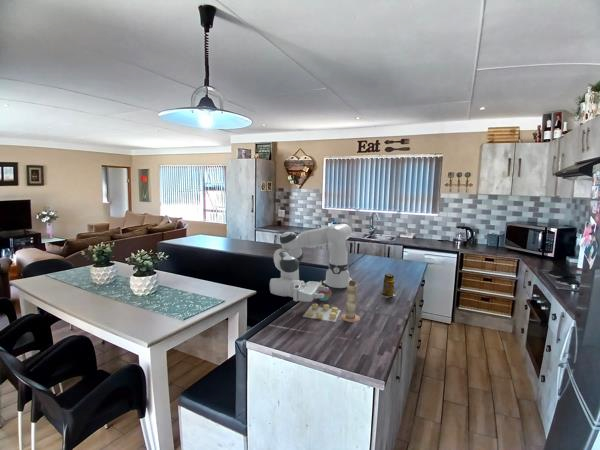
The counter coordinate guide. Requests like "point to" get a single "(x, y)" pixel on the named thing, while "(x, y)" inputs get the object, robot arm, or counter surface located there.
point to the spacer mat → (322, 312)
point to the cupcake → (325, 294)
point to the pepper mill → (351, 300)
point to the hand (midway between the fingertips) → (326, 292)
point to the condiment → (388, 286)
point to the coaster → (350, 319)
